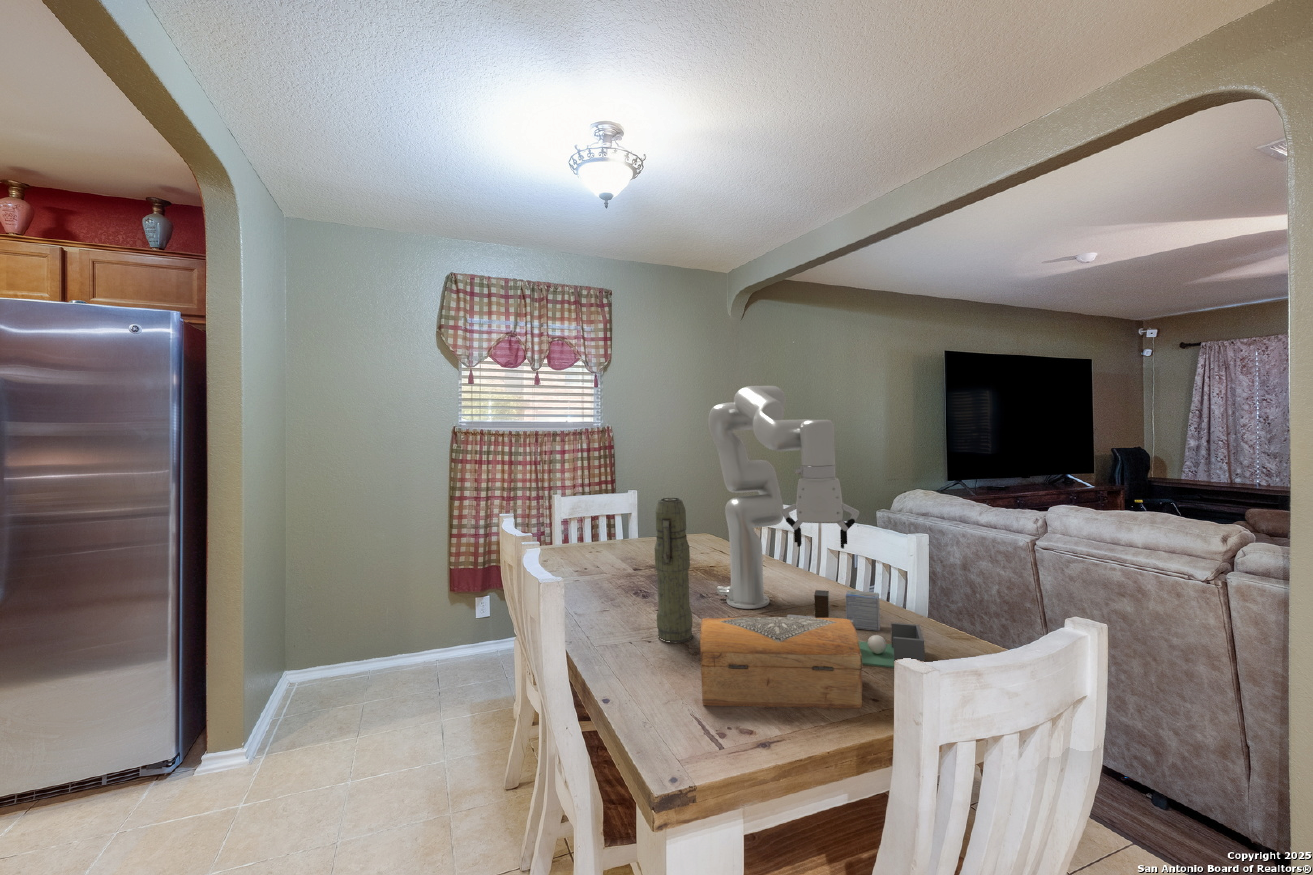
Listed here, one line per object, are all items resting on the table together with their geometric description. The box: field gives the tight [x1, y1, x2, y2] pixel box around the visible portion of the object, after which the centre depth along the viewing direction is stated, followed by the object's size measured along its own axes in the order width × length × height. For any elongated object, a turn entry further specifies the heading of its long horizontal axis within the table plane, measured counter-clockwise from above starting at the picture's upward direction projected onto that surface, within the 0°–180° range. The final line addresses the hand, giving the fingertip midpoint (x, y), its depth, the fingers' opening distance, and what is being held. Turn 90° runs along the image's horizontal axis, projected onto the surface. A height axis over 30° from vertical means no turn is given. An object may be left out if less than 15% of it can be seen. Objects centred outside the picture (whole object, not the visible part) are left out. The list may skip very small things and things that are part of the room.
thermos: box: [654, 497, 693, 643], centre depth 140 cm, size 9×12×35 cm
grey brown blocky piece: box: [786, 589, 853, 623], centre depth 129 cm, size 15×4×12 cm, turn 70°
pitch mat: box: [858, 640, 895, 669], centre depth 125 cm, size 14×12×1 cm
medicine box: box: [845, 589, 881, 632], centre depth 142 cm, size 8×4×9 cm, turn 65°
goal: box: [890, 621, 926, 663], centre depth 123 cm, size 6×10×6 cm, turn 160°
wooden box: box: [699, 616, 863, 709], centre depth 112 cm, size 30×16×14 cm, turn 83°
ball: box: [867, 634, 888, 654], centre depth 125 cm, size 4×4×4 cm
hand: (820, 546), depth 128 cm, fingers open, 9 cm apart
